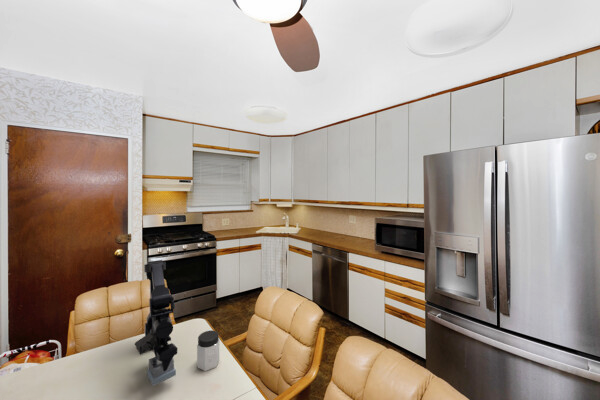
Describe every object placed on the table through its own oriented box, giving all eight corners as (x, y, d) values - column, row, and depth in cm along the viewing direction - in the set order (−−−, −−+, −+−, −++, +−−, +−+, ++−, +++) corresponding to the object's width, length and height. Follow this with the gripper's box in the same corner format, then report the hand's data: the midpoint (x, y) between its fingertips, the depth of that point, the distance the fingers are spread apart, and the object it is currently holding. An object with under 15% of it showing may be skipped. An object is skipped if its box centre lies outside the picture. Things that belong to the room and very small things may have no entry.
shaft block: (146, 374, 97) (146, 359, 97) (168, 364, 103) (168, 350, 102) (152, 385, 91) (152, 369, 91) (175, 374, 97) (175, 359, 97)
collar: (167, 361, 102) (167, 351, 102) (173, 369, 97) (173, 359, 97) (148, 369, 97) (148, 359, 97) (153, 378, 92) (153, 368, 92)
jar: (199, 373, 97) (199, 344, 97) (195, 362, 104) (195, 334, 104) (222, 365, 102) (222, 337, 102) (216, 354, 109) (216, 328, 109)
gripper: (131, 324, 97) (131, 362, 98) (143, 344, 84) (143, 389, 85) (162, 314, 105) (162, 350, 106) (177, 331, 92) (178, 372, 92)
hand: (161, 364), depth 97 cm, fingers open, 9 cm apart
